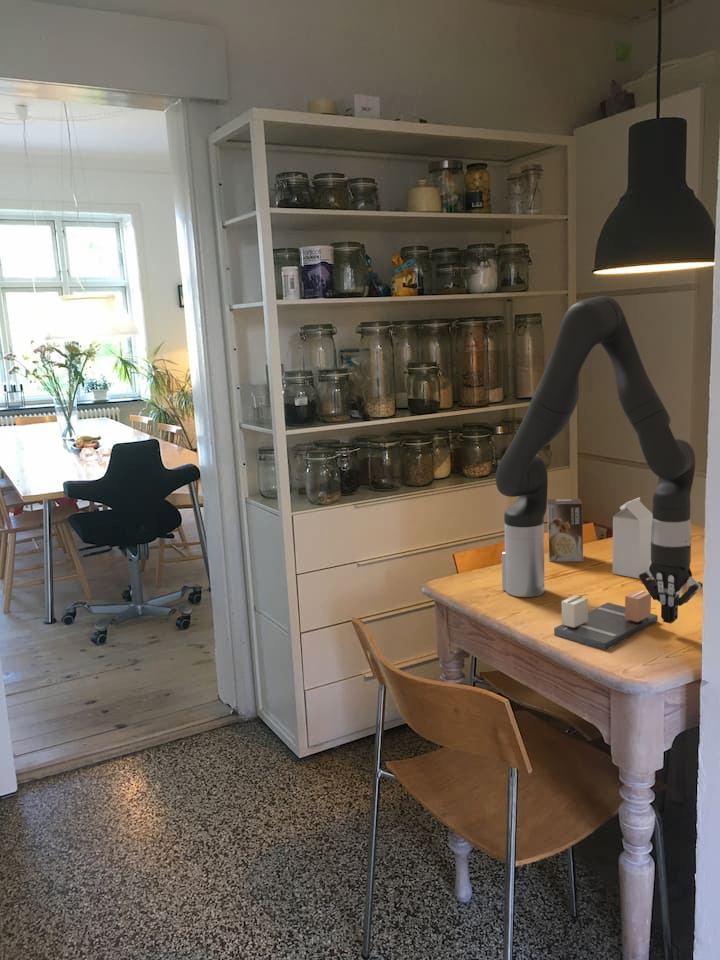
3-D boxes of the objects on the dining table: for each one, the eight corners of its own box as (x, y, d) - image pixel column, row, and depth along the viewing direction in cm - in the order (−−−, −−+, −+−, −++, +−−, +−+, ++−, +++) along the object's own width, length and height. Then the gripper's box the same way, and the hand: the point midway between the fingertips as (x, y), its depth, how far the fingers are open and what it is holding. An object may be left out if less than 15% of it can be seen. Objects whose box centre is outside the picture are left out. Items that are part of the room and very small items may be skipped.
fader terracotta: (624, 618, 168) (625, 595, 167) (637, 612, 171) (637, 589, 170) (638, 622, 166) (638, 598, 165) (650, 615, 169) (650, 592, 168)
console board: (554, 634, 166) (554, 627, 166) (607, 608, 179) (607, 601, 179) (605, 650, 157) (605, 642, 157) (657, 621, 170) (657, 614, 170)
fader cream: (561, 624, 167) (561, 600, 166) (575, 617, 170) (575, 594, 169) (573, 627, 165) (573, 603, 164) (587, 620, 168) (587, 597, 167)
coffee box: (582, 555, 219) (582, 498, 216) (583, 562, 213) (583, 503, 210) (547, 554, 221) (547, 498, 218) (548, 561, 215) (547, 503, 212)
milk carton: (652, 572, 202) (653, 499, 198) (638, 579, 197) (639, 504, 193) (626, 567, 207) (626, 495, 203) (612, 574, 202) (612, 501, 198)
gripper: (630, 538, 162) (630, 619, 165) (693, 549, 152) (691, 635, 155) (650, 530, 167) (649, 609, 170) (712, 541, 157) (709, 624, 160)
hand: (669, 621), depth 163 cm, fingers closed
